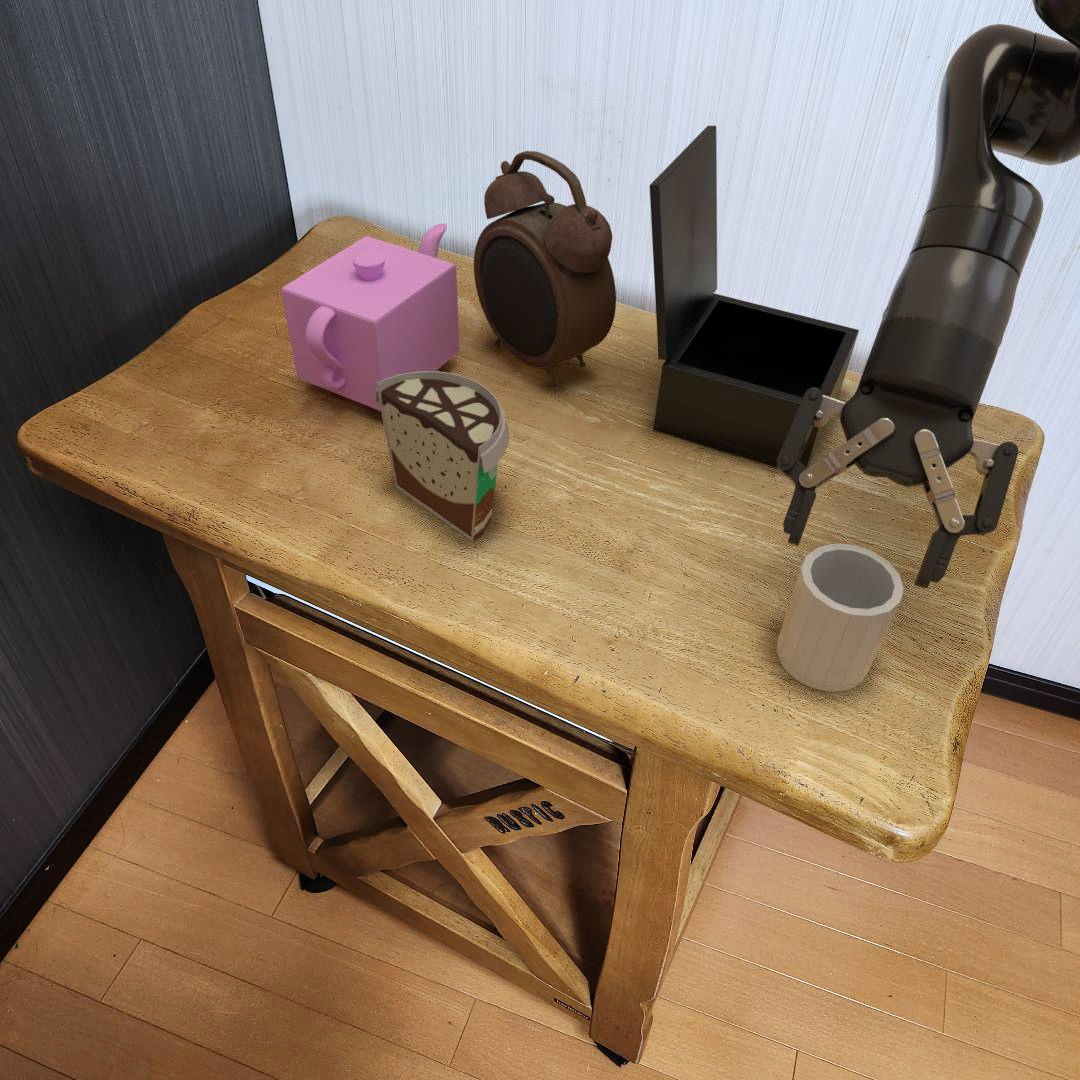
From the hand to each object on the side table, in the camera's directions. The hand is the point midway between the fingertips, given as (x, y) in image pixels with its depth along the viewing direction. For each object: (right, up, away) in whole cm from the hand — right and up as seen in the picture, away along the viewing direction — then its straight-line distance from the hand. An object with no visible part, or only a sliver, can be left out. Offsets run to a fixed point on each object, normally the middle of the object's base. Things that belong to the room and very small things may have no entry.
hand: (855, 565), depth 61 cm
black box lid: (-8, +27, +17) cm, 33 cm away
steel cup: (-1, -7, +4) cm, 8 cm away
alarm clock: (-21, +19, +30) cm, 41 cm away
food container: (-28, +5, +15) cm, 32 cm away
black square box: (-1, +14, +25) cm, 28 cm away
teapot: (-36, +18, +28) cm, 49 cm away
